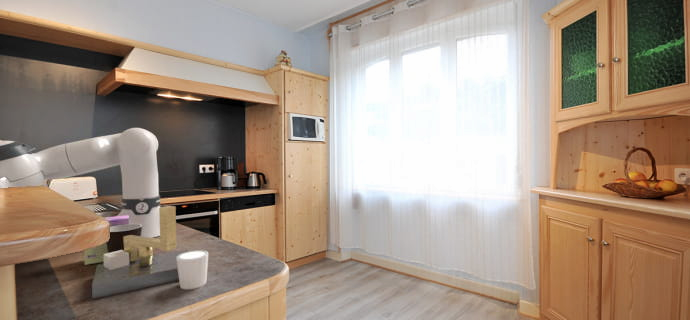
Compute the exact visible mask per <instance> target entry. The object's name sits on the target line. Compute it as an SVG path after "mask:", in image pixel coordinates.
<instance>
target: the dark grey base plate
mask: <svg viewBox="0 0 690 320" xmlns="http://www.w3.org/2000/svg"><path fill="white" fill-rule="evenodd" d="M185 252H189V251H188V250H187V249H182V250H177V251H172V252H166V253H159V254H153V263H152V264H150V265H146V266H140V265H139V258H138V259H137V260H134V261H132V262H130V261H129V265H126V266H123V267H119V268H116V269H112V270H110V269H108V268H106V267H104V263H99V264H97V265H96V269H95V273H94V277H93V279H92V283H91V292H92V294H91V295H92V296H91V297H92V298H91V299H92V300H94V299H98V298H103V297H107V296H108V297H109V296H113V295H117V294H122V293H126V292H130V291H135V290H139V289H144V288H149V287H153V286H159V285H162V284H168V283H172V282H177V281H179V275H178V267H177V260H176V257H177V256H178V255H180V254H182V253H185ZM158 284H159V285H158Z"/></svg>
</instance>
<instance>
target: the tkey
mask: <svg viewBox="0 0 690 320" xmlns="http://www.w3.org/2000/svg"><path fill="white" fill-rule="evenodd" d="M176 210H177V207H176V206H173V205H165V206H160V208H159V218H160V236H159V237H160V238H156V237H153V238H148V237H142V236H135V235H128V236H124V237H123V239H124V251H126V252H128V253H129V261H130V262H132V261H134V260H137V259H138V253H139V265H140V266H146V265H150V264H152V263H153V255H154V249H158V250H160V251H161V250H162V251H167V252H168V251H171V250H174V249H176V248H178V247H177V245H178V244H177V221H176V220H177V217H176V216H177V215H176V214H177V213H176ZM137 245H139V246H138V247H137Z"/></svg>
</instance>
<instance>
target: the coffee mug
mask: <svg viewBox="0 0 690 320" xmlns="http://www.w3.org/2000/svg"><path fill="white" fill-rule="evenodd" d="M141 231H142V225H141V224H124V225H117V226H112V227H110V239H109V241H108V242H106V244H107V250H108V253H111V252H115V251H120V250H124V239H123V237H124V236H128V235H135V236H141ZM138 246H139V245H137V247H138ZM138 258H139V253H138Z"/></svg>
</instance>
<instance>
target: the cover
mask: <svg viewBox="0 0 690 320" xmlns="http://www.w3.org/2000/svg"><path fill="white" fill-rule="evenodd" d="M103 258H104V262H103V264H104V267H106V268H108V269H110V270H112V269H116V268H119V267H123V266H126V265H129V253H128V252H126V251H124V250H120V251H115V252H111V253H107V254H103Z"/></svg>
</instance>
